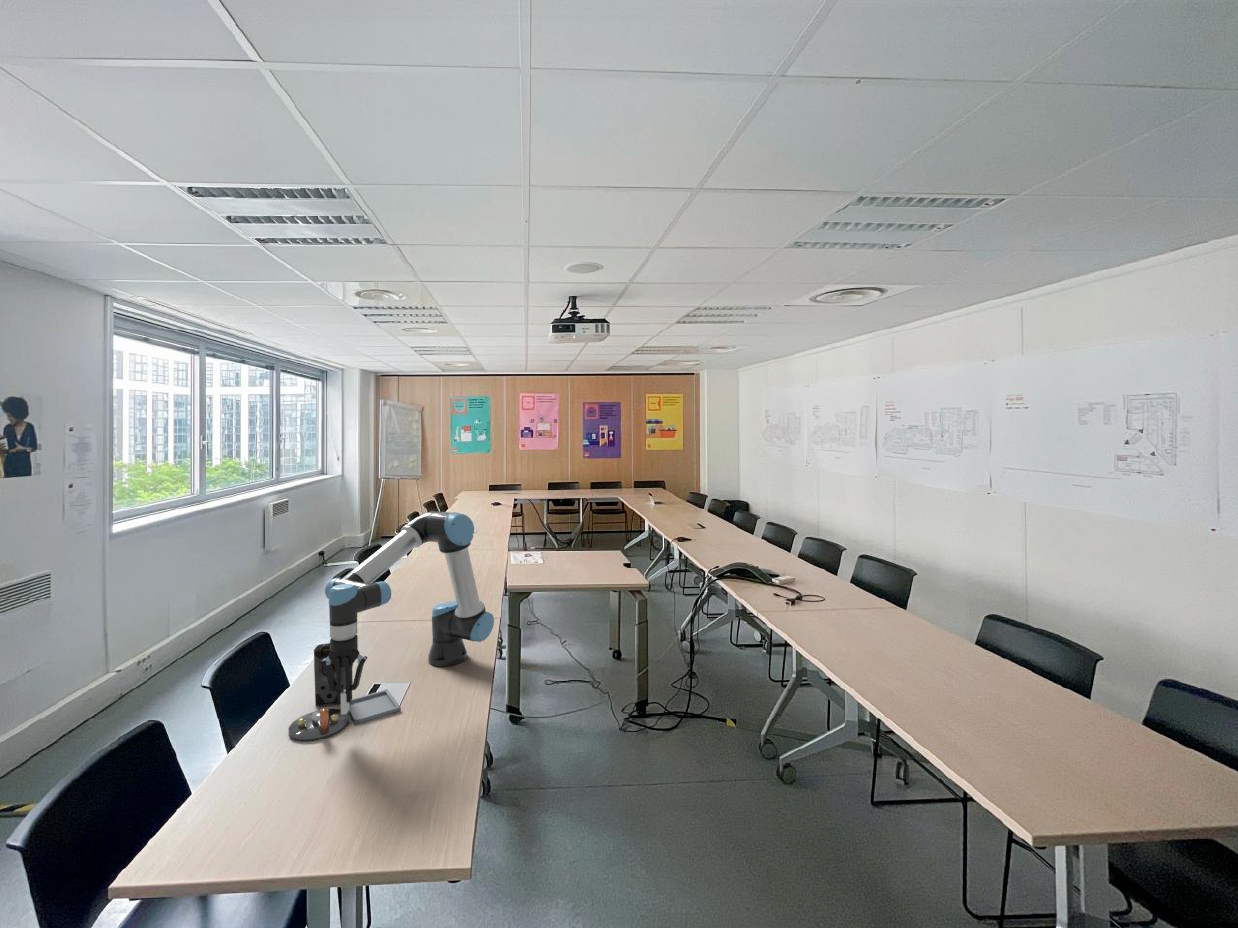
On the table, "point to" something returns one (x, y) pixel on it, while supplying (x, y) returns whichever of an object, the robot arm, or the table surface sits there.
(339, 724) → the crank base
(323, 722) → the crank
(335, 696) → the electronic device
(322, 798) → the table surface
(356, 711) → the tray
